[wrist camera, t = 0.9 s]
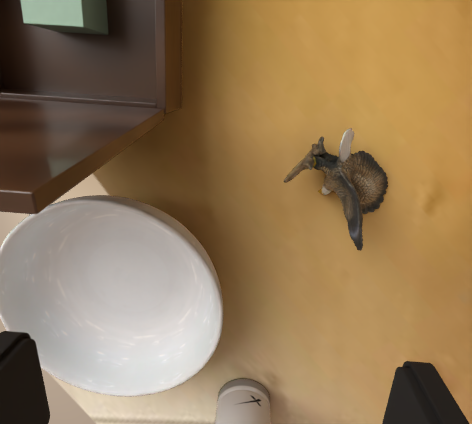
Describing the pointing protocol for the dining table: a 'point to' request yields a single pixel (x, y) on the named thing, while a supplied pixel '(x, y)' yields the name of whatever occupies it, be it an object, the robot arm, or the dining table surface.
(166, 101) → the box
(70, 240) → the serving bowl
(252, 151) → the dining table surface
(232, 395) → the travel mug
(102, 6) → the block
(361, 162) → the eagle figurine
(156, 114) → the lid
